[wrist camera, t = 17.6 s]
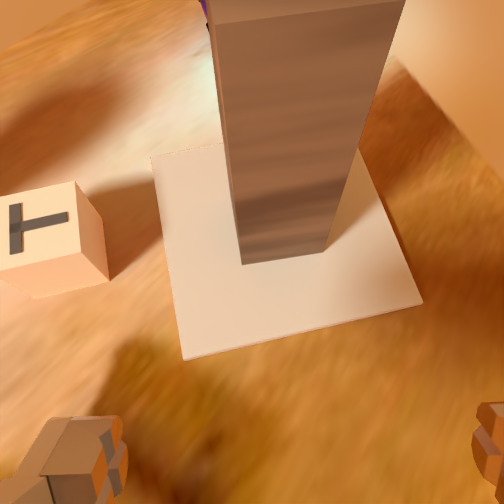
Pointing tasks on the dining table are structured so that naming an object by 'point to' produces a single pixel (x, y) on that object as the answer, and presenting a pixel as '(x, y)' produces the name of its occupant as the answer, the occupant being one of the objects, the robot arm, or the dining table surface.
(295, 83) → the walnut block
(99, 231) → the letter cube
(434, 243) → the dining table surface
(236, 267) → the white square plate
